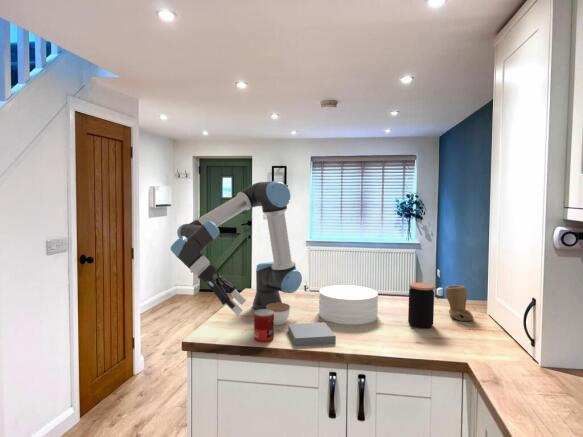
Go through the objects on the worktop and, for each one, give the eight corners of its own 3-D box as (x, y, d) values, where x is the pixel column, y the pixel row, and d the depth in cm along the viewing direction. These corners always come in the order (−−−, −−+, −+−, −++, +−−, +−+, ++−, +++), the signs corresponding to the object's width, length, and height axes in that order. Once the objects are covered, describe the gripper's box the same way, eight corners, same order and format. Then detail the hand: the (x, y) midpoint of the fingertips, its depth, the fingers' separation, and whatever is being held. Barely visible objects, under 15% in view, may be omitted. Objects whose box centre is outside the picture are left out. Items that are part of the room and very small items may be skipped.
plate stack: (359, 304, 197) (359, 283, 196) (389, 321, 171) (389, 296, 170) (310, 309, 188) (310, 287, 188) (333, 327, 162) (334, 301, 161)
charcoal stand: (288, 331, 156) (288, 324, 156) (324, 329, 159) (325, 322, 159) (295, 345, 141) (295, 338, 140) (335, 343, 143) (335, 335, 143)
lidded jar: (292, 320, 170) (293, 300, 169) (284, 328, 160) (285, 306, 159) (271, 317, 173) (271, 298, 173) (262, 325, 163) (262, 304, 163)
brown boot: (443, 311, 187) (444, 281, 186) (469, 313, 183) (470, 283, 182) (445, 320, 172) (446, 288, 172) (473, 323, 168) (475, 290, 168)
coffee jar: (434, 323, 168) (435, 284, 167) (432, 330, 158) (433, 289, 157) (409, 319, 173) (410, 281, 172) (406, 326, 163) (407, 286, 162)
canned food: (271, 343, 143) (271, 315, 142) (251, 341, 145) (251, 313, 144) (276, 336, 150) (276, 309, 150) (257, 334, 152) (257, 308, 151)
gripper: (203, 270, 157) (238, 305, 159) (189, 283, 132) (231, 324, 134) (216, 257, 157) (251, 292, 158) (204, 269, 132) (245, 310, 134)
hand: (242, 307), depth 146 cm, fingers open, 13 cm apart
